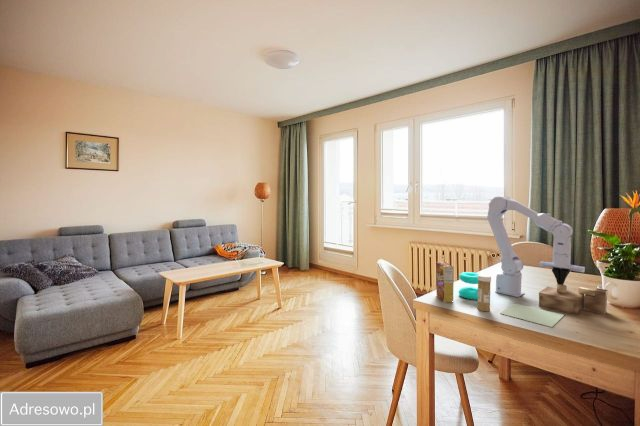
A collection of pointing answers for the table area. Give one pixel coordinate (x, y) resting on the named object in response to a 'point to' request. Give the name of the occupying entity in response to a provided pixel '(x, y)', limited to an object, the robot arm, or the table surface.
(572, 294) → the lid
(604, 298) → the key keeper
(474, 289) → the donuts
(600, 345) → the table surface
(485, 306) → the sprinkles bottle
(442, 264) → the candy box
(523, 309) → the mat
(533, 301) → the table surface
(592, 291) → the cream rectangular bar
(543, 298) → the toolbox
